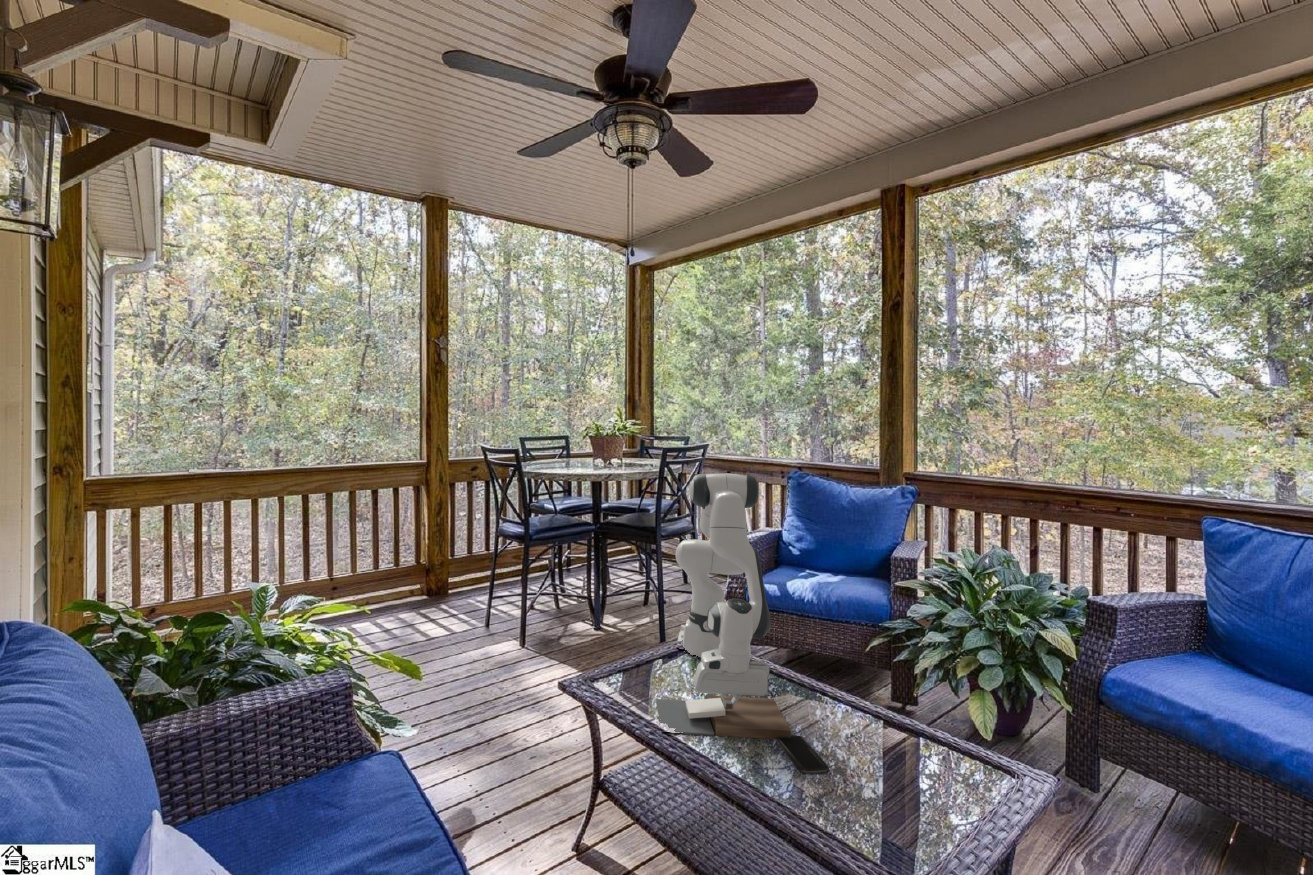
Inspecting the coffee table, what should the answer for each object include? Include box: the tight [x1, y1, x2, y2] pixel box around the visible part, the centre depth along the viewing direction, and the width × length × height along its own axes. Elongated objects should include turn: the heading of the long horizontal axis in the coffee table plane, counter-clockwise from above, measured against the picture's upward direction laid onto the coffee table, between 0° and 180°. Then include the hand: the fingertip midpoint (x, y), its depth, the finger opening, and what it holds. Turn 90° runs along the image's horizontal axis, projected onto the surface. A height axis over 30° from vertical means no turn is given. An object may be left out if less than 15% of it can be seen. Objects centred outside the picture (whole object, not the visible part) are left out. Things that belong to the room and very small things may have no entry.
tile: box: [685, 698, 725, 719], centre depth 167 cm, size 7×10×2 cm
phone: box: [775, 735, 830, 775], centre depth 154 cm, size 8×1×15 cm
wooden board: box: [705, 694, 792, 740], centre depth 169 cm, size 17×20×2 cm
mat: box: [655, 698, 715, 737], centre depth 167 cm, size 17×14×1 cm
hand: (728, 708), depth 168 cm, fingers closed
